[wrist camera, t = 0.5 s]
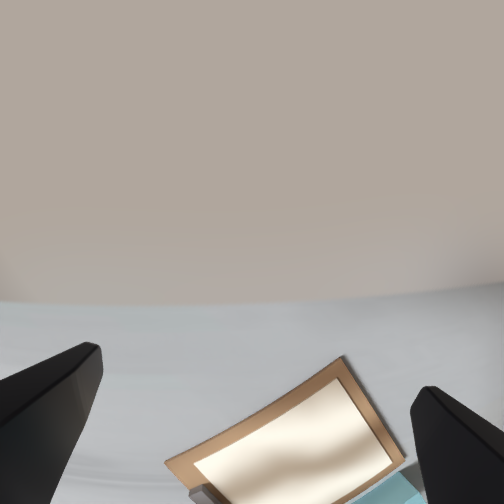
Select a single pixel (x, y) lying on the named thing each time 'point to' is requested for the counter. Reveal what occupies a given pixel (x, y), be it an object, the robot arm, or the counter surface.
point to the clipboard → (295, 449)
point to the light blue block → (393, 493)
